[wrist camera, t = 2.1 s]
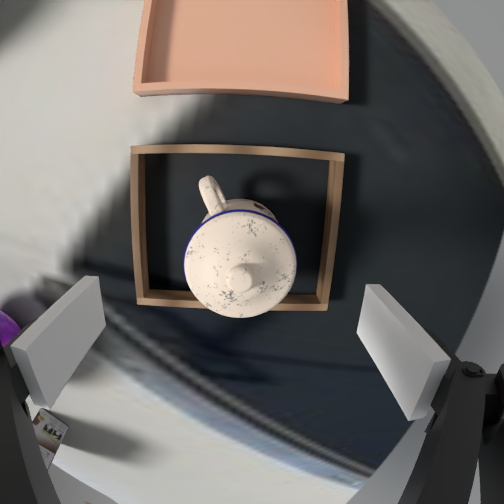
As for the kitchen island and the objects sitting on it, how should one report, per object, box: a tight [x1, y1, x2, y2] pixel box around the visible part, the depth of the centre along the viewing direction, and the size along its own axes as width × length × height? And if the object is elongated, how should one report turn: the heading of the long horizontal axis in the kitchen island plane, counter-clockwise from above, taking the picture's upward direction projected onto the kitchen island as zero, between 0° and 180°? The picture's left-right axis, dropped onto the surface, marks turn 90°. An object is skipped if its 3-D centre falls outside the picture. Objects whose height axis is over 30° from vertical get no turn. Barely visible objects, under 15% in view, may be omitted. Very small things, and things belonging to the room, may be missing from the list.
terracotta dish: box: [133, 0, 349, 104], centre depth 25 cm, size 21×17×3 cm
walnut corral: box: [130, 144, 345, 311], centre depth 32 cm, size 21×17×2 cm
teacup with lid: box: [183, 176, 297, 318], centre depth 27 cm, size 12×9×12 cm
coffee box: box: [32, 408, 69, 471], centre depth 34 cm, size 9×6×16 cm
